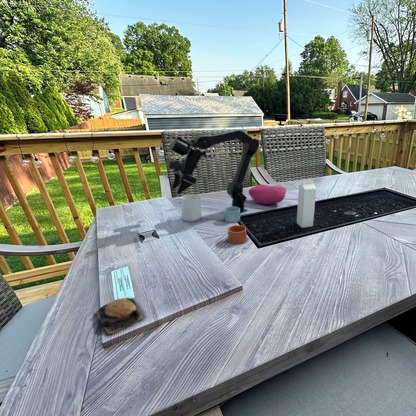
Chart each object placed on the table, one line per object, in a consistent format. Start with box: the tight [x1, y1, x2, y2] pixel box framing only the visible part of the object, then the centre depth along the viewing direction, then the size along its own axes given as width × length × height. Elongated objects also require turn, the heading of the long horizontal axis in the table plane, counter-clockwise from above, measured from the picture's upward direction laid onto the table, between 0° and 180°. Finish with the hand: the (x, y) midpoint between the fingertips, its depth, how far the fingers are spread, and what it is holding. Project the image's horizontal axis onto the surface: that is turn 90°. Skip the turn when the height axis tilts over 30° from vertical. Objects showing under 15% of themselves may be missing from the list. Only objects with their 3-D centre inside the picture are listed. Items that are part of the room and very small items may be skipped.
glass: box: [223, 205, 241, 223], centre depth 128 cm, size 7×7×6 cm
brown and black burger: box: [96, 297, 144, 336], centre depth 65 cm, size 11×8×4 cm
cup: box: [227, 224, 247, 245], centre depth 107 cm, size 7×7×5 cm
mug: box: [180, 193, 203, 223], centre depth 126 cm, size 12×9×11 cm
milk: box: [296, 179, 317, 229], centre depth 123 cm, size 6×6×22 cm
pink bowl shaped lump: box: [248, 184, 287, 205], centre depth 155 cm, size 23×19×10 cm
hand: (175, 191), depth 119 cm, fingers open, 9 cm apart
